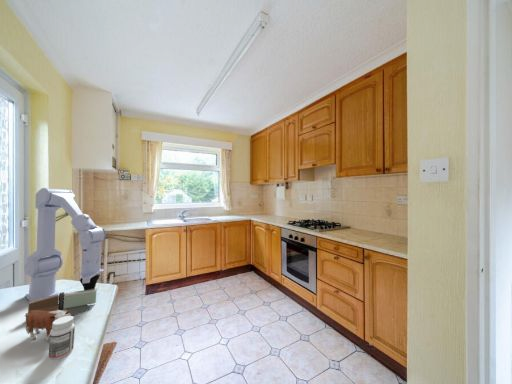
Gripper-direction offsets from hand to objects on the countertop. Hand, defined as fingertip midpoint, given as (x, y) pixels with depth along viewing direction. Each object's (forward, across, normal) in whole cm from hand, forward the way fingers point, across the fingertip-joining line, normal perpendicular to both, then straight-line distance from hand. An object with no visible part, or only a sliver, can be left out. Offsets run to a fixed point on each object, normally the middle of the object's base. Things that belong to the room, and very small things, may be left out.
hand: (89, 295), depth 77 cm
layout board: (+3, -3, +8) cm, 9 cm away
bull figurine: (+3, -19, +6) cm, 20 cm away
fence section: (+3, -3, +11) cm, 12 cm away
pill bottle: (+3, -28, 0) cm, 28 cm away
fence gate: (+2, -2, +2) cm, 4 cm away
